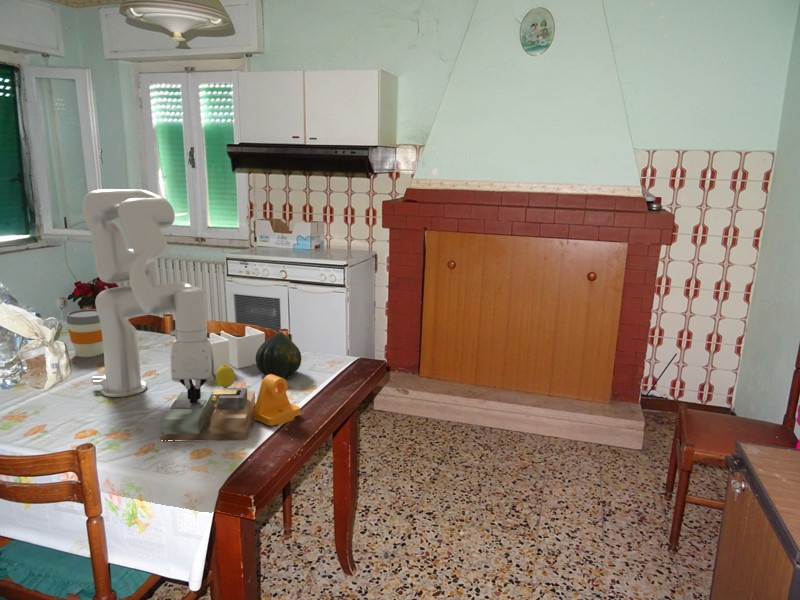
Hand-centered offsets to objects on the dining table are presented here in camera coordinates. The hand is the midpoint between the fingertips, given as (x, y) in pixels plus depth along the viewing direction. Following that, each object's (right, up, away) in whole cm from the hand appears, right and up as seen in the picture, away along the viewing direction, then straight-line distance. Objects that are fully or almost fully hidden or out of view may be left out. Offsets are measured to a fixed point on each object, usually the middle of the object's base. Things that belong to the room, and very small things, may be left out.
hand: (194, 401), depth 149 cm
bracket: (+21, -6, +6) cm, 23 cm away
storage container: (-6, +4, +47) cm, 47 cm away
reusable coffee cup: (-58, +7, +54) cm, 79 cm away
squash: (+14, +2, +39) cm, 42 cm away
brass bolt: (+8, -1, 0) cm, 8 cm away
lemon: (0, -1, +26) cm, 26 cm away
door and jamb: (+4, -6, +2) cm, 8 cm away
